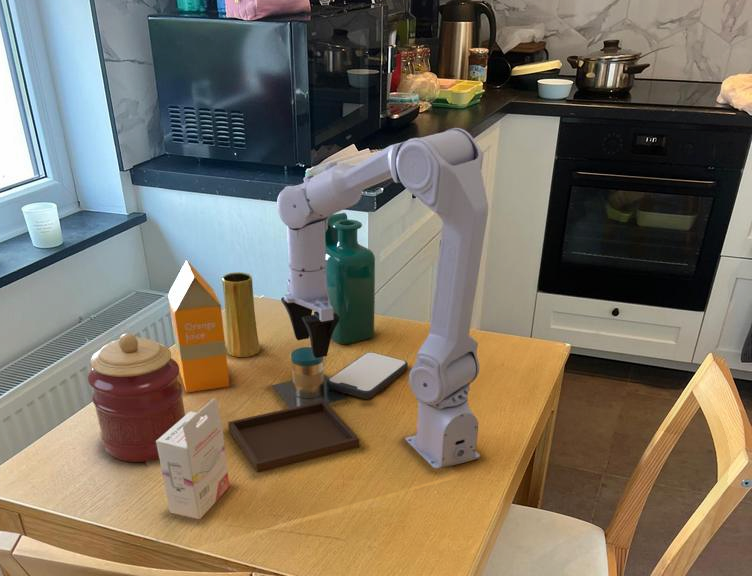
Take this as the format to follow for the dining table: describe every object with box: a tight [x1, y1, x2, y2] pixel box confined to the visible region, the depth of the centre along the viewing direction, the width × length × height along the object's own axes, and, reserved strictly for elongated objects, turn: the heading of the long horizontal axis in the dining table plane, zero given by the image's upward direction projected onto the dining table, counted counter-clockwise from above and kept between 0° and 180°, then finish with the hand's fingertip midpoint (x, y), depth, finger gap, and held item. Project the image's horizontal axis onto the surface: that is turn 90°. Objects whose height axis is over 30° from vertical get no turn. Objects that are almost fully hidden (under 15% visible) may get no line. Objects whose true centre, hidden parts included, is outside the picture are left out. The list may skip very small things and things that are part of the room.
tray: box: [227, 401, 360, 473], centre depth 119 cm, size 13×16×2 cm
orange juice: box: [167, 259, 230, 393], centre depth 131 cm, size 8×9×20 cm
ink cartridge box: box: [156, 397, 230, 520], centre depth 102 cm, size 9×5×15 cm, turn 160°
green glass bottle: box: [325, 212, 376, 345], centre depth 147 cm, size 10×8×22 cm
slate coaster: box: [271, 373, 348, 409], centre depth 132 cm, size 10×10×1 cm
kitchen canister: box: [87, 333, 186, 463], centre depth 114 cm, size 13×13×18 cm
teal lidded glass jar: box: [290, 346, 325, 399], centre depth 130 cm, size 5×5×7 cm
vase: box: [221, 271, 261, 358], centre depth 142 cm, size 6×6×14 cm
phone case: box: [327, 351, 409, 400], centre depth 136 cm, size 9×2×16 cm
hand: (311, 347), depth 127 cm, fingers open, 7 cm apart
